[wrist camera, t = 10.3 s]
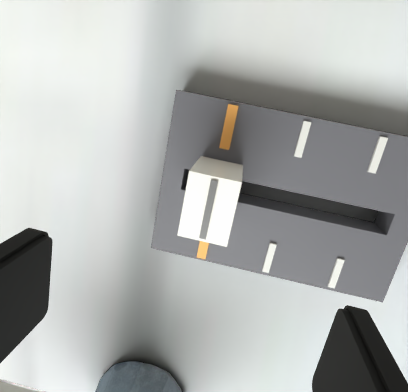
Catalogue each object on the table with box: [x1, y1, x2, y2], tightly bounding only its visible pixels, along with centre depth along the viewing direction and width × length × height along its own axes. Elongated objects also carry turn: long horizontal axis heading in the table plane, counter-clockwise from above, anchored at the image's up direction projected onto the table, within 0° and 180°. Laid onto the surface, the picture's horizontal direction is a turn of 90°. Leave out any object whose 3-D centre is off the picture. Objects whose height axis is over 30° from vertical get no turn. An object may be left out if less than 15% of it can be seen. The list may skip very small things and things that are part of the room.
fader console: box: [151, 90, 408, 302], centre depth 25 cm, size 12×18×3 cm, turn 79°
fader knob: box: [177, 156, 243, 247], centre depth 23 cm, size 4×3×7 cm
